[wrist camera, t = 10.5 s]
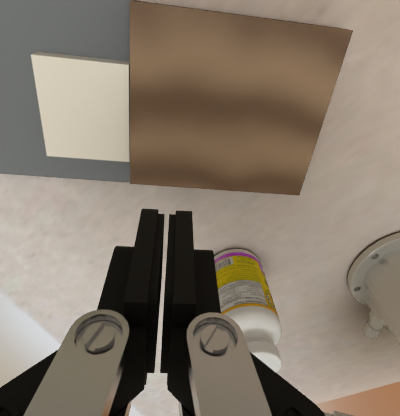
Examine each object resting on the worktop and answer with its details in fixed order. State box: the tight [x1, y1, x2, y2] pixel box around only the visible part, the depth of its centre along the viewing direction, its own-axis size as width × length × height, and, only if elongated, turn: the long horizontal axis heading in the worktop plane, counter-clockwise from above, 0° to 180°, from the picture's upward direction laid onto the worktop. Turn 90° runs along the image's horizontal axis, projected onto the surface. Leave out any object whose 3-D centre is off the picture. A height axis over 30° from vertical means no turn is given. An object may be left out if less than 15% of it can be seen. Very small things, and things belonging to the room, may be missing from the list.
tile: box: [31, 52, 130, 162], centre depth 26 cm, size 8×7×2 cm
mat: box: [0, 0, 134, 182], centre depth 26 cm, size 16×14×1 cm
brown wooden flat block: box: [130, 1, 353, 195], centre depth 27 cm, size 14×16×2 cm
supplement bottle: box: [214, 249, 281, 373], centre depth 34 cm, size 7×7×13 cm
